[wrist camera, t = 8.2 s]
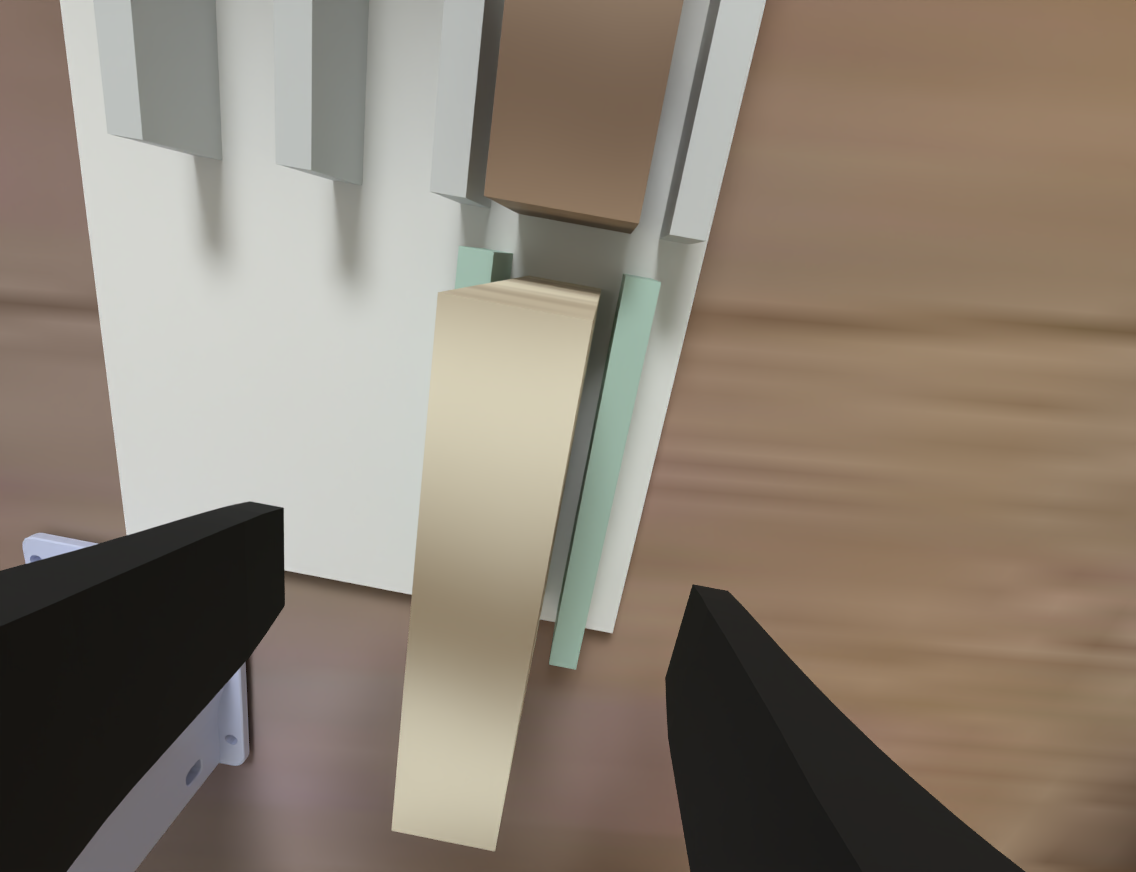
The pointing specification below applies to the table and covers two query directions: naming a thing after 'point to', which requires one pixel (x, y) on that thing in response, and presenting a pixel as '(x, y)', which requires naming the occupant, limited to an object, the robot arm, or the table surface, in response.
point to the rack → (363, 266)
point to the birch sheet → (485, 542)
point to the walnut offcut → (579, 107)
